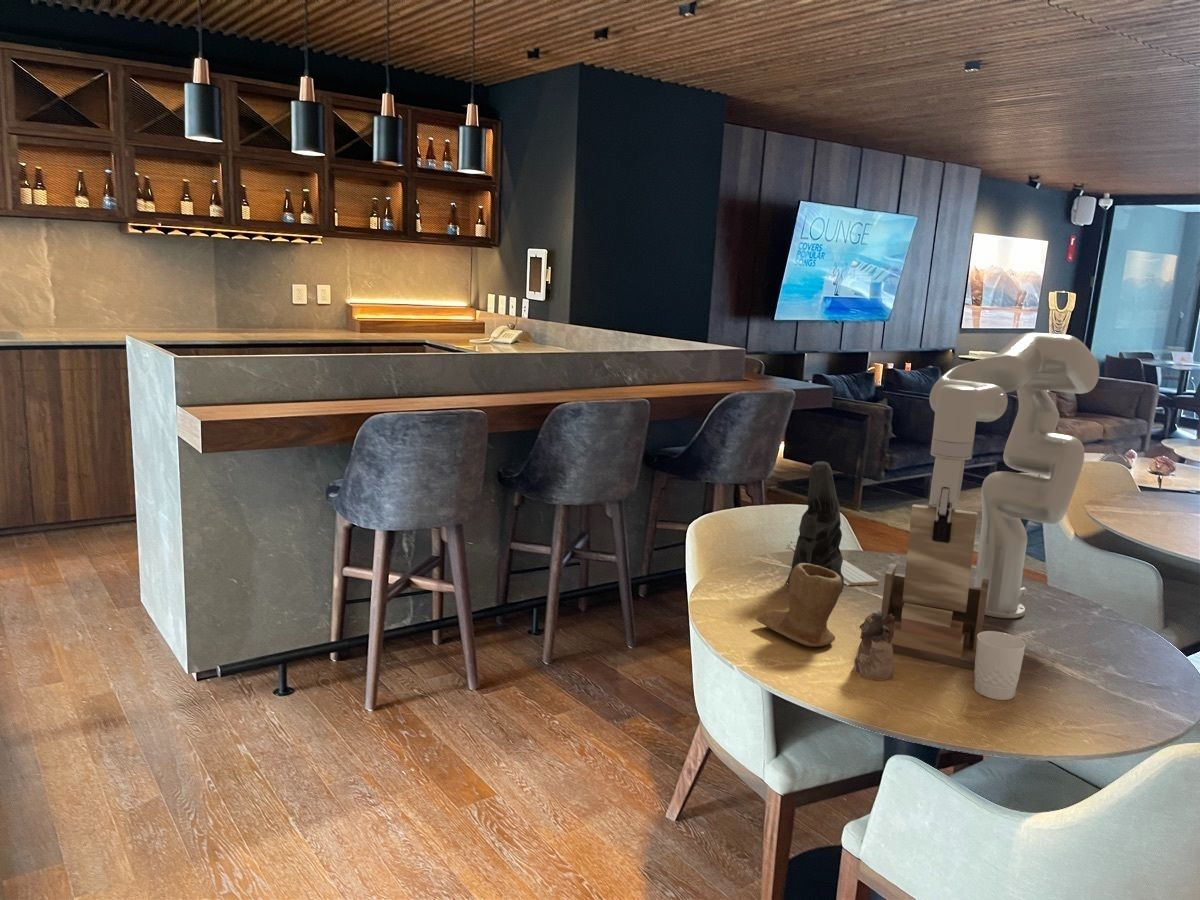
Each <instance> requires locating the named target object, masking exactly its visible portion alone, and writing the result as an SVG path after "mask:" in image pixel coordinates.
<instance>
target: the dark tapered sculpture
mask: <svg viewBox="0 0 1200 900" xmlns="http://www.w3.org/2000/svg"><path fill="white" fill-rule="evenodd" d="M807 505H808V506H807V509H806V511H805V512H804V513H803V514H802V516H801V518H800V519H801V520H800V524H799V528H798V530H799V531H798V532H799V535H798V537H797V539H796V544H795V545H796V548H795V551H794V553H793V557H792V563H791V569H790V572H789V573H788V577H787V579H786V582H787V583H788V584H789V582H790V576H791V572H792V570H793V568H794V567H795V566H796V565H798V564H799V563H809V564H813V565H817V566H821V567H824V568H827V569H829V570H832V571H834V572H836V573H837V574H838V575H839V576H840V577H841V580H842V589H841V592H842V591H843V589H844V586H845V585H844V576H843V575H842V573H841V566H842V562H843V559H844V558H843V555H842V552H841V549H840V546H841V541H842V537H843V533H842V530H841V524H842V523H841V509H840V502H839V500H838V496H837V491H836V485H835V481H834V477H833V470H832V467H831V465H830V463H829V462H828V461H824V460H822V461H815V462H813V464H812V466H811V468H810V471H809V482H808V489H807ZM787 583H786V584H787Z"/></svg>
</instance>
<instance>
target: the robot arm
mask: <svg viewBox="0 0 1200 900" xmlns="http://www.w3.org/2000/svg"><path fill="white" fill-rule="evenodd" d="M1099 378H1100V366H1099V362H1098V360H1097V358H1096V357H1095V355H1094V354H1093V353H1092V351H1090V349H1089V348H1088V346H1087V345H1086V344H1085V343H1084V342H1083V341H1081V340H1080V339H1079V338H1077V337H1075V336H1073V335H1069V334H1060V333H1059V334H1057V333H1048V332H1047V333H1046V332H1045V333H1044V332H1025V333H1022V334H1019V335H1017V336H1016V337H1014V338H1013V339H1012V340H1011V341H1010V342H1008V343H1007V344H1006V345H1005V346H1004V347H1003V348H1002V349H1000V350H999V351H998V352H997V353H995V355H993V356H989V357H985V358H981V359H978V360H974V361H970V362H966V363H962V364H959V365H956V366H955V367H952V368H951V369H949V370H948V371H947V372H945V373H944V374H943V375H941V377H939V378H938V380H937V381H936V382H935V383H934V385H933V386H932V387H931V390H930V393H929V406H930V408H931V410H932V411H933V412H934V421H933V429H932V438H931V444H930V445H931V446H930V447H931V448H930V455H931V456H932V457H934V458H935V459H934V465H933V470H932V478H931V486H930V494H929V501H928V506H930V507H937V510H936V519H935V521H934V528H933V536H932V540H933V541H937V542H944V543H949V542H950V534H951V526H952V523H950V521H951V513H952V510H953V509H954V510H955V509H956V507H957V504H958V501H959V497H960V495H961V489H962V483H963V477H964V469H965V463H966V462H965V461H969V460H972V459H973V452H974V451H973V450H974V443H975V433H976V425H977V422H982V423H983V422H984V423H990V422H994V421H996V420H999V419H1000V418H1001V417H1002V416H1003V415H1004V414H1005V412H1006V410H1007V408H1008V403H1009V402H1008V401H1009V400H1008V395H1007V393H1013V392H1016V393H1017V399H1018V410H1017V414H1016V416H1015V418H1014V419H1015V420H1014V422H1013V425H1012V427H1011V430H1010V433H1009V435H1008V438H1007V441H1006V444H1005V447H1004V451H1003V462H1004V464H1005V465H1006V466H1007V467H1008V468H1011V469H1013V470H1016V471H1020V472H1025V473H1028V474H1024V473H1020V472H1019V473H1018V472H1013V471H1006V470H1005V471H1002V470H1001V471H1000V470H999V471H994V472H991V473H989V474H988V475H987V476H986V477H985V478H984V480H983V482H982V486H981V489H980V490H981V492H980V493H981V494H980V496H981V497H980V498H981V510H982V514H981V515H982V516H981V518H982V519H981V526H980V527H981V529H980V535H979V545H978V551H977V559H976V567H975V568H976V569H975V575H974V584H973V587H979V588H981V585H982V579H988V580H989V585H988V592H987V600H986V608H985V615H984V616H988V617H994V618H999V619H1015V618H1016V619H1017V618H1021V617H1023V616H1025V613H1026V608H1025V606H1024V604H1022V603H1020V599H1021V597H1024V596H1027V595H1028V592H1029V591H1028V589H1027V588H1026V587H1024V586H1023V587H1022V580H1023V574H1024V573H1023V572H1024V567H1025V558H1026V553H1027V552H1026V551H1027V546H1028V545H1027V544H1028V533H1027V530H1026V527H1025V525H1024V524H1023V521H1022V520H1021V519H1023V520H1029V521H1031V522H1038V523H1042V524H1047V525H1054V524H1058V523H1060V522H1061V521H1062V520H1063V519H1064V518H1065V516H1066V513H1067V511H1068V509H1069V506H1070V503H1071V501H1072V498H1073V496H1074V492H1075V489H1076V487H1077V483H1078V481H1079V478H1080V475H1081V472H1082V470H1083V465H1084V461H1085V447H1084V444H1083V443H1082V441H1081V440H1080V439H1079V438H1077V437H1075V436H1072V435H1068V434H1062V433H1055V432H1056V429H1057V425H1058V423H1059V420H1060V412H1059V410H1058V408H1057V406H1056V403H1055V402H1054V401H1053V399H1052V398H1051V396H1050V394H1049V393H1048V391H1053V392H1060V393H1061V392H1062V393H1067V394H1068V393H1069V394H1078V395H1079V394H1081V395H1083V394H1087V393H1090V392H1091V391H1092V390H1094V388H1095V387H1096V385H1097V384H1098V381H1099ZM1029 473H1030V474H1034V475H1035V474H1036V475H1039V476H1045V477H1049V478H1044V477H1039V476H1034V475H1030V474H1029ZM947 511H949V512H947Z"/></svg>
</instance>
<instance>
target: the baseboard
mask: <svg viewBox="0 0 1200 900" xmlns="http://www.w3.org/2000/svg"><path fill="white" fill-rule="evenodd" d="M792 543H794V542H793V541H791V542H790V544H792ZM790 544H788V545H787V548H789V549H791V550H792V551H794V552H795V548H796V544H794V545H793V546H791V545H790ZM841 573H842V575H843V576H844V584H846V585H861V586H875V585H876V586H877V585H879V584H880V581H879V580H878V579H876V578H874V577H872V576H871V575H869V574H868V573H867V572H865V571H863V570H861V569H860V568H859V567H857V566H855V565H853V564H852V563H850V562H848V561H847V560H845V559H844V558H843V562H842V566H841ZM865 584H866V585H865ZM846 585H845V586H846Z"/></svg>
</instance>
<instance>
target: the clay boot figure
mask: <svg viewBox="0 0 1200 900" xmlns="http://www.w3.org/2000/svg"><path fill="white" fill-rule="evenodd" d="M790 572H791V571H790ZM841 589H842V580H841V577H840V576H839V575H838V574H837V573H836V572H834V571H832V570H829V569H827V568H824V567H821V566H817V565H813V564H809V563H799V564H798V565H796V566H795V567H794V568H793V570H792V572H791V576H790V582H789V585H788V599H789V602H788V603H789V605H788V611H787V610H781V609H770V610H766V611H764V612H761V613H760V614H758V615H757V617H756V621H757V622H758V623H760V624H762V625H764V626H766V627H767V628H769V629H770V630H772V631H774V632H776V633H778V634H780V635H782V636H784V637H786V638H787V639H790V640H791V641H794V642H797V643H799V644H801V645H804V646H807V647H813V648H814V647H815V648H816V647H823V646H828V645H830V644H832V643H833V642H834V641H835V639H836V636H835V635H834V633H832V632H831V630H829V629H828V625H827V624H828V620H829V617H830V615H831V614H832V612H833V610H834V609H835V606H836V605H837V602H838V600H839V597H840V596H841V593H842V591H841ZM842 590H843V589H842Z"/></svg>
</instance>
